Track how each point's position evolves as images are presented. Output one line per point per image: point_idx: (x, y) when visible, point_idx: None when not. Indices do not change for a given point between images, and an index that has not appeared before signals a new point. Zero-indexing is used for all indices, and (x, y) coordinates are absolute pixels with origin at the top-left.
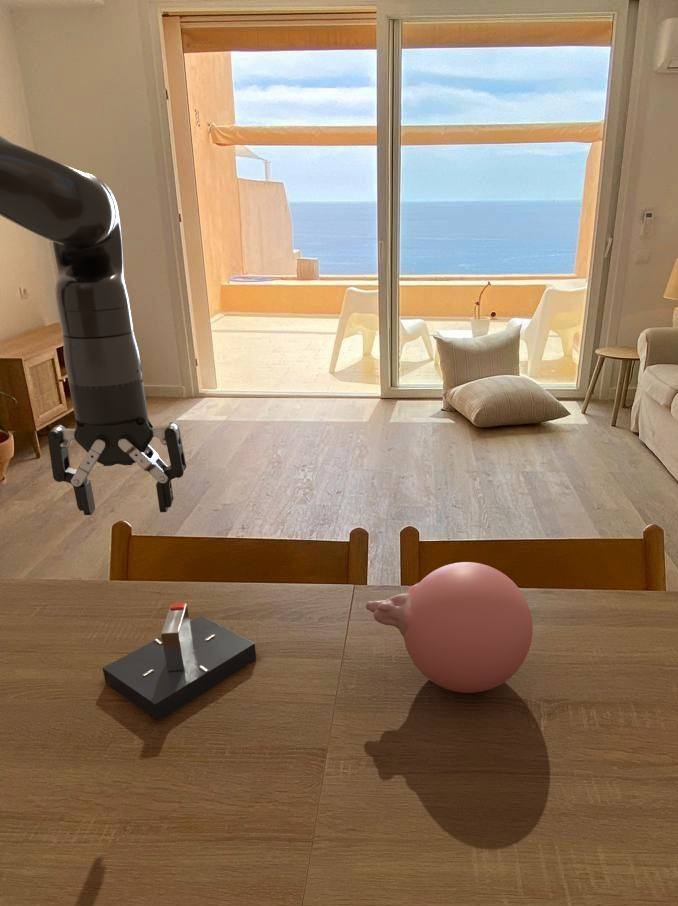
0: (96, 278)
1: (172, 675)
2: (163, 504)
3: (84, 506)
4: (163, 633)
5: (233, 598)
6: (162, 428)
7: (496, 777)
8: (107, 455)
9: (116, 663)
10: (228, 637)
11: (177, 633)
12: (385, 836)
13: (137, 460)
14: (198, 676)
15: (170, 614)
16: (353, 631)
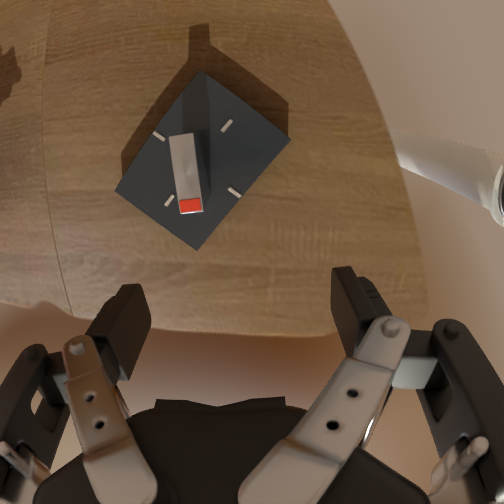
0: None
1: (194, 121)
2: (119, 294)
3: (351, 277)
4: (189, 133)
5: (185, 303)
6: (7, 501)
7: None
8: (257, 442)
9: (275, 147)
10: (147, 202)
11: (170, 136)
12: (18, 4)
13: (106, 403)
14: (161, 121)
15: (195, 184)
16: (48, 238)
